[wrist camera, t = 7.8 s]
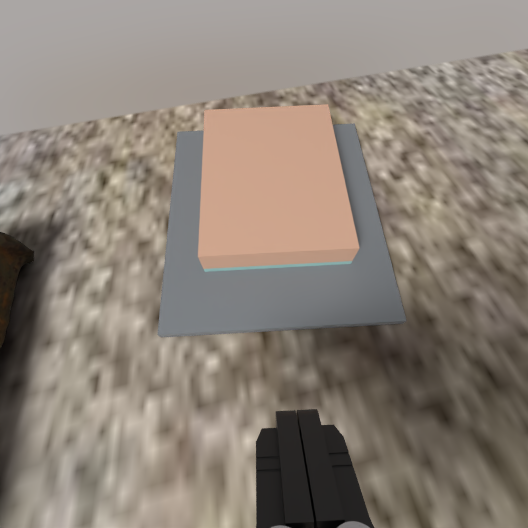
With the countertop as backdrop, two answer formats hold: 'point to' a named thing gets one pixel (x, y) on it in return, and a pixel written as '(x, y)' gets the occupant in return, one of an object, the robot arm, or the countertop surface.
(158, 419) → the countertop surface
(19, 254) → the hand tool
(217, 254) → the tile
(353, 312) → the mat
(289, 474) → the robot arm
